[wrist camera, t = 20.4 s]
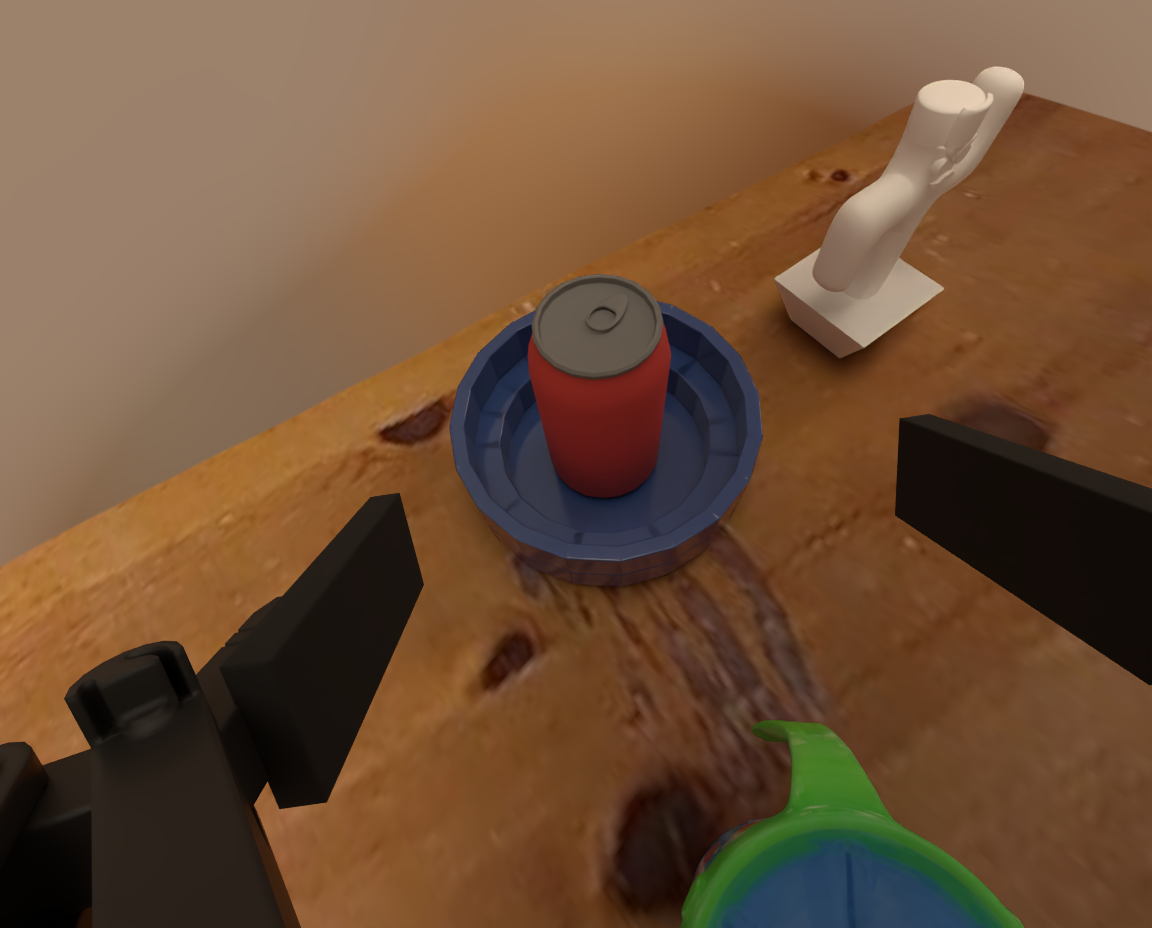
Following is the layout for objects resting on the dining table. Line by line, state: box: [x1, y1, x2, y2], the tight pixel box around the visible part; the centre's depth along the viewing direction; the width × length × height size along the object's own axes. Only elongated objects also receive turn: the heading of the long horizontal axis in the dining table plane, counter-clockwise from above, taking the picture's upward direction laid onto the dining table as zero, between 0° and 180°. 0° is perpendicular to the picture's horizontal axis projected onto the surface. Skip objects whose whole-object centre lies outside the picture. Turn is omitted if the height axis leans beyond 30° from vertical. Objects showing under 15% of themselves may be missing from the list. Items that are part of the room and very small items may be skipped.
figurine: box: [774, 67, 1024, 359], centre depth 30 cm, size 7×9×15 cm
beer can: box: [528, 274, 671, 498], centre depth 28 cm, size 7×7×12 cm
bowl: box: [449, 301, 763, 586], centre depth 31 cm, size 17×17×6 cm
